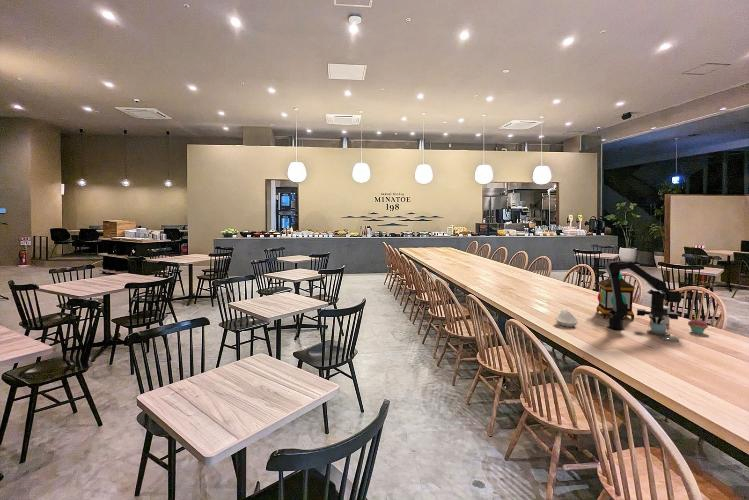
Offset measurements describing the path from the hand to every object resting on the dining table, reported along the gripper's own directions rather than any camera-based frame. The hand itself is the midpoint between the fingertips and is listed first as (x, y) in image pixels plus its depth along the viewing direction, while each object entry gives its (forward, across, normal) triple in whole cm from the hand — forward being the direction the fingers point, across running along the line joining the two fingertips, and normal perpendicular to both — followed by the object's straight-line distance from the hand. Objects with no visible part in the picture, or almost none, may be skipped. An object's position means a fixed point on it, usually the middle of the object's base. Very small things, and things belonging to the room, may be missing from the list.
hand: (656, 328), depth 220 cm
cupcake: (+2, +19, +8) cm, 21 cm away
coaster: (+1, +5, -15) cm, 16 cm away
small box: (+2, +2, +20) cm, 20 cm away
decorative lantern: (+1, -21, +25) cm, 33 cm away
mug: (+1, +1, -4) cm, 4 cm away
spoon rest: (+2, -46, -8) cm, 46 cm away
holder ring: (+1, +1, -6) cm, 6 cm away
